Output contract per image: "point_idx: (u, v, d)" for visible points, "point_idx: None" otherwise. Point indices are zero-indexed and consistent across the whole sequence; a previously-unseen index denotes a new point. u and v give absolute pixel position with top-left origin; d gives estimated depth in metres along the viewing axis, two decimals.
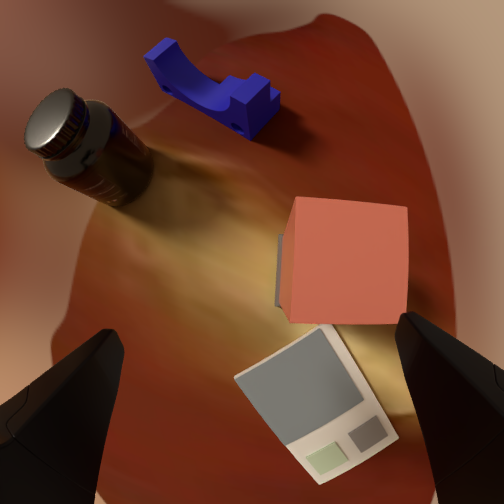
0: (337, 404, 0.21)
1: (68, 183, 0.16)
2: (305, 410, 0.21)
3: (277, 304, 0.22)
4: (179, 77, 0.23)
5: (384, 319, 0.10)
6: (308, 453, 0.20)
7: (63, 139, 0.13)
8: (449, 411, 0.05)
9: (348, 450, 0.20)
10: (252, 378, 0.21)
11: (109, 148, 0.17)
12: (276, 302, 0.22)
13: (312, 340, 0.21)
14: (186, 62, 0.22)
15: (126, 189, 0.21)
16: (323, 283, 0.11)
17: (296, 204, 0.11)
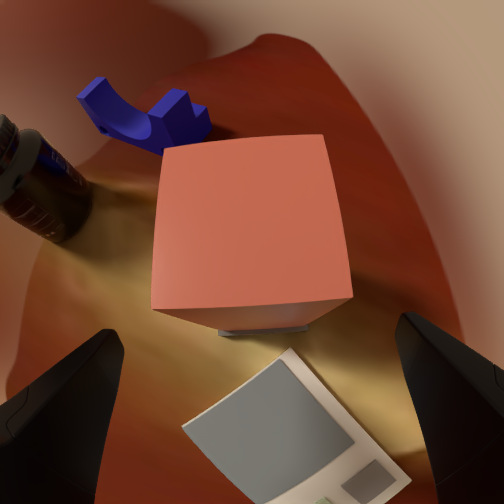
0: (319, 452, 0.14)
1: (1, 208, 0.14)
2: (277, 463, 0.14)
3: (221, 333, 0.17)
4: (111, 114, 0.22)
5: (311, 293, 0.07)
6: None
7: None
8: (449, 411, 0.05)
9: None
10: (203, 426, 0.16)
11: (36, 170, 0.14)
12: (219, 331, 0.17)
13: (271, 374, 0.16)
14: (118, 98, 0.22)
15: (61, 220, 0.19)
16: (196, 246, 0.07)
17: (164, 157, 0.08)
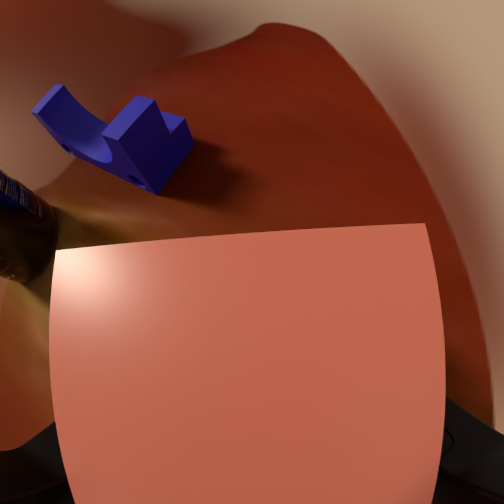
0: None
1: None
2: None
3: None
4: (72, 130, 0.17)
5: None
6: None
7: None
8: None
9: None
10: None
11: None
12: None
13: None
14: (80, 109, 0.17)
15: (20, 262, 0.14)
16: (138, 502, 0.02)
17: (57, 272, 0.03)
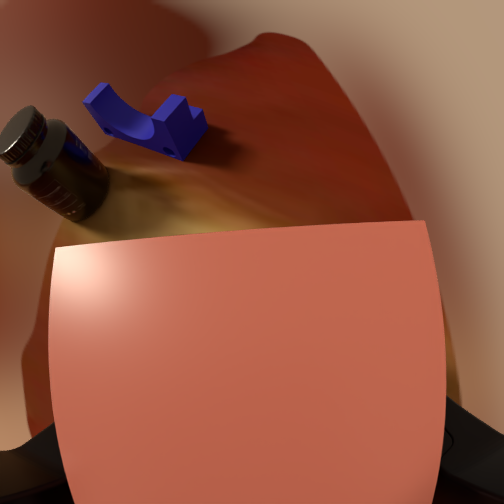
0: None
1: (29, 188, 0.17)
2: None
3: None
4: (115, 116, 0.25)
5: None
6: None
7: (24, 144, 0.14)
8: None
9: None
10: None
11: (63, 155, 0.17)
12: None
13: None
14: (120, 102, 0.25)
15: (83, 199, 0.22)
16: (138, 501, 0.02)
17: (56, 270, 0.03)
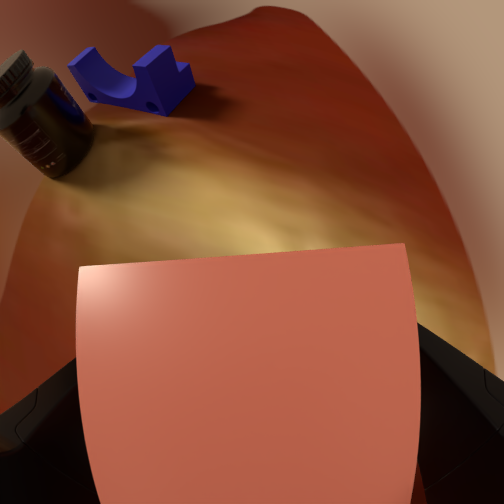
0: None
1: (8, 131, 0.13)
2: None
3: None
4: (100, 79, 0.21)
5: None
6: None
7: (7, 81, 0.10)
8: (437, 415, 0.05)
9: None
10: None
11: (45, 95, 0.14)
12: None
13: None
14: (106, 65, 0.21)
15: (63, 149, 0.18)
16: (157, 486, 0.03)
17: (81, 286, 0.04)
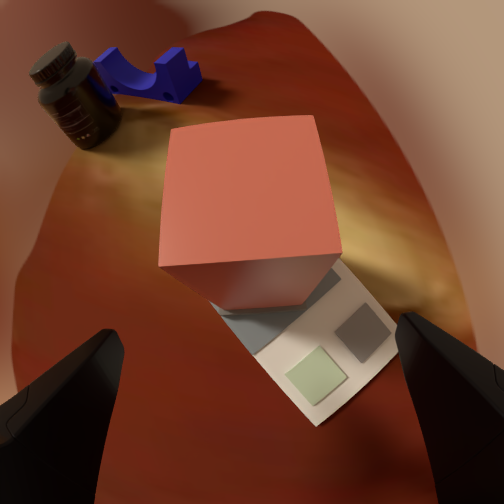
0: None
1: (54, 105, 0.18)
2: None
3: (222, 312, 0.18)
4: (121, 74, 0.26)
5: (304, 249, 0.07)
6: (288, 368, 0.18)
7: (57, 64, 0.16)
8: (449, 411, 0.05)
9: (343, 361, 0.18)
10: None
11: (88, 79, 0.19)
12: (220, 310, 0.18)
13: None
14: (126, 63, 0.26)
15: (98, 123, 0.23)
16: (200, 210, 0.08)
17: (171, 136, 0.09)
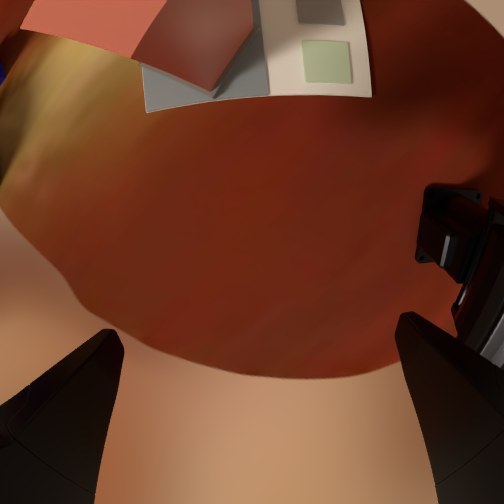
0: None
1: None
2: None
3: (211, 94, 0.15)
4: None
5: None
6: (302, 76, 0.15)
7: None
8: (449, 411, 0.05)
9: (330, 35, 0.14)
10: (154, 92, 0.16)
11: None
12: (208, 94, 0.15)
13: None
14: None
15: None
16: (108, 4, 0.04)
17: (26, 28, 0.04)
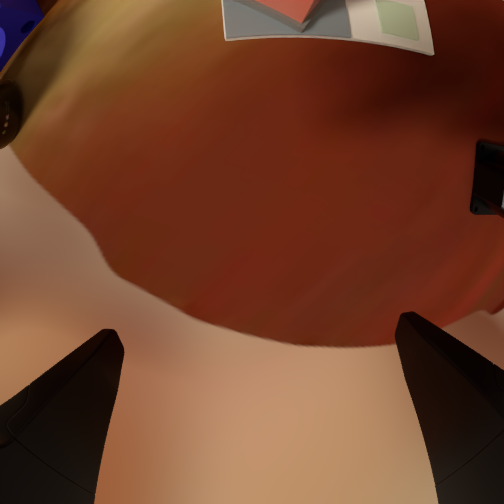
0: None
1: None
2: None
3: (302, 25, 0.12)
4: None
5: None
6: (378, 27, 0.13)
7: None
8: (449, 411, 0.05)
9: None
10: (235, 21, 0.13)
11: None
12: (300, 25, 0.12)
13: None
14: None
15: (3, 99, 0.12)
16: None
17: None
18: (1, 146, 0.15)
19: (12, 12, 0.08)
